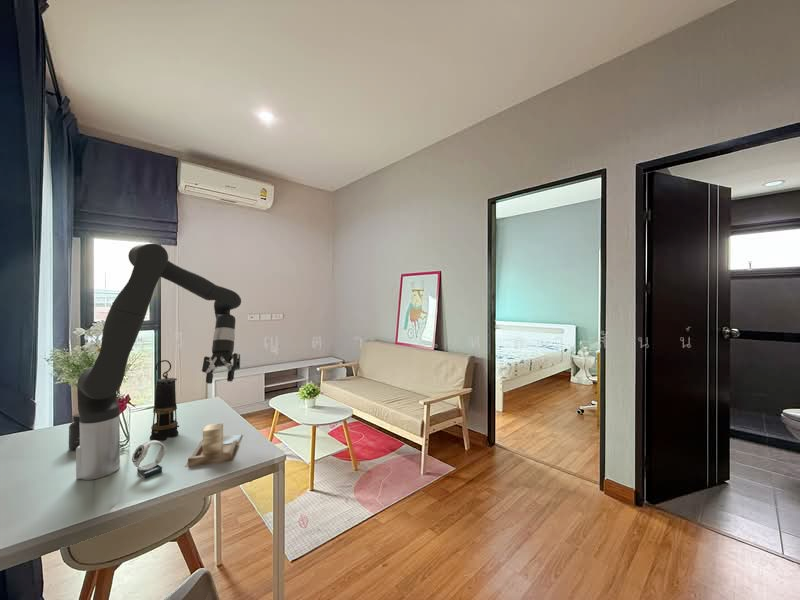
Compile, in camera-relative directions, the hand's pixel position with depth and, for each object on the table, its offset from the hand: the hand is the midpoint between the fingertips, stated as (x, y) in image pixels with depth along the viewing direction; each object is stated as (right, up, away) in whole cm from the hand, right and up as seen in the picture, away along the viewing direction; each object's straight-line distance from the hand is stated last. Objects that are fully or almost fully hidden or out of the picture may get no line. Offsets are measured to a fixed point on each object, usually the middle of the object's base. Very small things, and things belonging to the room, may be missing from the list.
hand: (219, 382), depth 122 cm
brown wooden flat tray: (+4, -23, -9) cm, 25 cm away
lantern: (-24, -23, +5) cm, 34 cm away
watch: (-8, -23, -24) cm, 34 cm away
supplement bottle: (-48, -23, -5) cm, 53 cm away
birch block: (+5, -22, -13) cm, 26 cm away
